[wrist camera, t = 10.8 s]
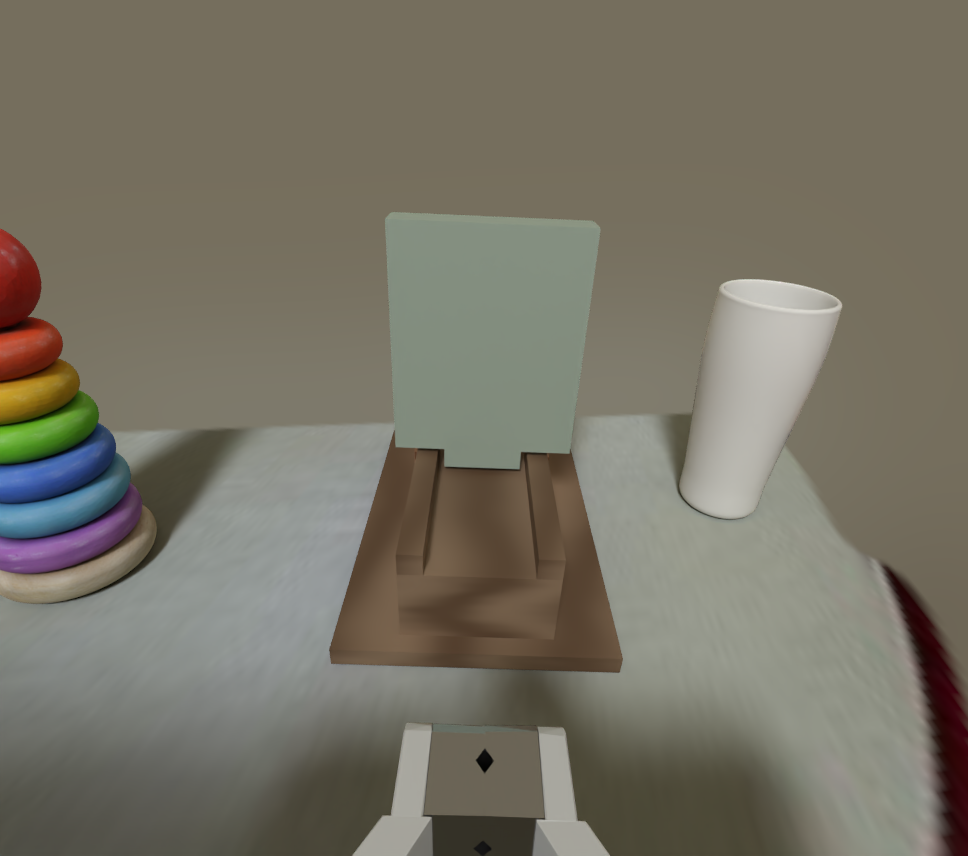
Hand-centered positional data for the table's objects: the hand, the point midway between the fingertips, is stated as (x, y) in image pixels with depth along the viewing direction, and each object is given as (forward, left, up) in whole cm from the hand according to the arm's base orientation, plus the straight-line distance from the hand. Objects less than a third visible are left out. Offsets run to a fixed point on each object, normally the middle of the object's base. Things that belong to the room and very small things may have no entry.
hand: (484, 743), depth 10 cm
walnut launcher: (0, +22, -13) cm, 25 cm away
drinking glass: (+17, +26, -13) cm, 34 cm away
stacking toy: (-23, +18, -13) cm, 32 cm away
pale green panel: (0, +22, -8) cm, 23 cm away
